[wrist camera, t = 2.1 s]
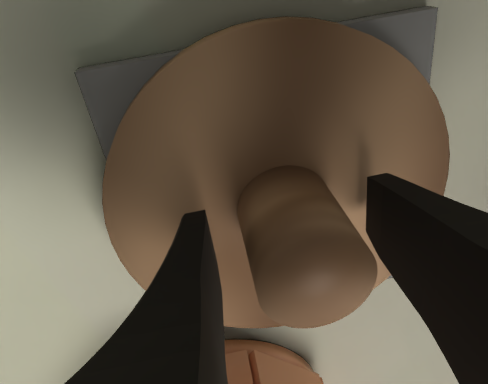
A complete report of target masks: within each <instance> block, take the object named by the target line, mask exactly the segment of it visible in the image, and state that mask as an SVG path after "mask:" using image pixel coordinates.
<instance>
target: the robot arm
mask: <svg viewBox="0 0 488 384" xmlns="http://www.w3.org/2000/svg"><path fill="white" fill-rule="evenodd" d="M366 233H367V235H368V237H369V239H370V241H371V243H372V245H373V247H374V249H375V251H376V252H377V254H378V256H379V258H380V259H381V261H382V262H383V264H384V265H385V267H386V268H387V270H388V271H389V272H390V274H391V275H392V277H393V278H394V279H395V281H396V282H397V284H398V285H399V286H400V288H401V289H402V291H403V292H404V293H405V295H406V296H407V298H408V299H409V300H410V302H411V303H412V305H413V306H414V307H415V309H416V310H417V312H418V313H419V314H420V316H421V317H422V319H423V320H424V322H425V324H426V325H427V327H428V328H429V330H430V332H431V333H432V335H433V337H434V339H435V340H436V342H437V344H438V346H439V347H440V349H441V351H442V353H443V354H444V356H445V358H446V360H447V362H448V364H449V365H450V367H451V369H452V371H453V373H454V375H455V377H456V379H457V380H458V382H459V384H488V213H486V212H484V211H481V210H478V209H475V208H473V207H470V206H467V205H464V204H462V203H459V202H457V201H454V200H452V199H449V198H447V197H444V196H442V195H440V194H437V193H435V192H432V191H430V190H428V189H425V188H423V187H421V186H419V185H416V184H414V183H412V182H409V181H407V180H404V179H402V178H400V177H397V176H394V175H392V174H389V173H383V174H378V175H373V176H369V177H367V200H366ZM64 384H228V380H227V372H226V361H225V341H224V320H223V299H222V288H221V282H220V275H219V269H218V263H217V259H216V254H215V250H214V246H213V241H212V237H211V233H210V228H209V224H208V220H207V216H206V211H205V210H200V211H195V212H190V213H185V214H184V215H183V217H182V218H181V222H180V224H179V227H178V230H177V232H176V235H175V237H174V240H173V242H172V244H171V246H170V248H169V250H168V252H167V255H166V257H165V259H164V261H163V263H162V264H161V266H160V268H159V270H158V272H157V273H156V275H155V277H154V279H153V280H152V282H151V284H150V285H149V287H148V289H147V290H146V292H145V293H144V295H143V296H142V298H141V299H140V301H139V302H138V303H137V305H136V306H135V308H134V309H133V310H132V312H131V313H130V314H129V316H128V317H127V318H126V319H125V321H124V322H123V323H122V324H121V326H120V327H119V328H118V329H117V331H116V332H115V333H114V334H113V335H112V337H111V338H110V339H109V340H108V341H107V342H106V343H105V344H104V345H103V346H102V347H101V349H100V350H99V351H98V352H97V353H96V354H95V355H94V356H93V357H92V358H91V359H90V360H89V361H88V362H87V363H86V364H85V365H84V366H83V367H82V368H81V369H80V370H79V371H78V372H77V373H76V374H74V375H73V376H72V377H71V378H70V379H69V380H68V381H67V382H66V383H64Z"/></svg>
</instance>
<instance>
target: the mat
mask: <svg viewBox="0 0 488 384" xmlns="http://www.w3.org/2000/svg"><path fill="white" fill-rule="evenodd" d="M437 11H438V8H437V7H431V6H425V7H419V8H414V9H408V10H403V11H397V12H391V13H386V14H380V15H374V16H369V17H363V18H358V19H352V20H346V21H341V22H337V23H339V24H342V25H345V26H347V27H350V28H353V29H356V30H358V31H361V32H364V33H366V34H369V35H372V36H374V37H375V38H377V39H379V40H381V41H382V42H384V43H386V44H388V45H390V46H391V47H393V48H394V49H395V50H397V51H398V52H399V53H400V54H402V55H403V56H404V57H405V58H407V59H408V60H409V61H410V62H411V63H412V64H413V65H414V66H415V67H416V68H417V70H418V71H419V72H420V73H421V74H422V75H423V76H424V78H425V79H426V80H427V82H428V84H429V85H430V76H431V66H432V57H433V48H434V39H435V29H436V20H437ZM181 51H182V50H177V51H172V52H166V53H161V54H155V55H149V56H144V57H138V58H132V59H127V60H121V61H116V62H110V63H104V64H99V65H93V66H87V67H82V68H78V69H77V70H76V71H75V72H74V73H75V75H76V78H77V81H78V84H79V86H80V89H81V92H82V95H83V97H84V100H85V103H86V106H87V108H88V111H89V114H90V117H91V120H92V122H93V125H94V128H95V131H96V133H97V136H98V139H99V142H100V144H101V147H102V150H103V153H104V155H105V158H106V161H107V157H108V154H109V151H110V148H111V145H112V143H113V140H114V137H115V134H116V131H117V128H118V126H119V124H120V122H121V120H122V118H123V116H124V114H125V112H126V110H127V108H128V107H129V105H130V103H131V102H132V101H133V99H134V98H135V97H136V95H137V94H138V92H139V91H140V90H141V88H142V87H143V85H144V84H145V83H146V82H147V81H148V80H149V79H150V78H151V77H152V76H153V75H154V74H155V73H156V72H157V71H158V70H159V69H160V68H161V67H162V66H163V65H164V64H166V63H167V62H168V61H169V60H171V59H172V58H173V57H175V56H176V55H177V54H178V53H179V52H181ZM388 278H393V277H392V275H390V276H389V277H388ZM388 278H387V279H388Z"/></svg>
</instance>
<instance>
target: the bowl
mask: <svg viewBox="0 0 488 384" xmlns="http://www.w3.org/2000/svg"><path fill="white" fill-rule="evenodd" d="M224 341H225V361H226V372H227V380H228V384H323V381H322V378H321V377H319V374H317V373H314V372H313V370H312V368H311V367H310V366H309V364H308V363H307V362H306V361H305V360H304V359H303V358H302V357H300V356H299V355H297V354H296V353H294V352H293V351H290V350H288V349H286V348H284V347H281V346H278V345H275V344H272V343H267V342H262V341H255V340H235V339H231V340H224Z"/></svg>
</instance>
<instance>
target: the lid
mask: <svg viewBox="0 0 488 384" xmlns="http://www.w3.org/2000/svg"><path fill="white" fill-rule="evenodd" d="M449 158H450V152H449V136H448V131H447V127H446V122H445V118H444V114H443V112H442V109H441V107H440V104H439V102H438V99H437V97H436V95H435V93H434V92H433V90H432V89H431V87H430V85H429V84H428V82H427V80H426V79H425V78H424V76H423V75H422V74H421V73H420V72H419V71H418V70H417V68H416V67H415V66H414V65H413V64H412V63H411V62H410V61H409V60H408V59H407V58H405V57H404V56H403V55H402V54H400V53H399V52H398V51H397V50H395V49H394V48H393V47H391V46H390V45H388V44H386V43H384V42H382V41H381V40H379V39H377V38H375V37H374V36H372V35H369V34H366V33H364V32H361V31H358V30H356V29H353V28H350V27H347V26H345V25H342V24H339V23H337V22H331V21H326V20H321V19H316V18H309V17H287V16H285V17H275V18H265V19H257V20H253V21H249V22H245V23H241V24H237V25H233V26H230V27H228V28H225V29H223V30H220V31H218V32H216V33H213V34H211V35H208V36H206V37H204V38H202V39H201V40H199V41H197V42H196V43H194V44H192V45H190V46H189V47H187V48H185V49H183V50H182V51H181V52H179V53H178V54H177V55H176V56H175V57H173V58H172V59H171V60H169V61H168V62H167V63H166V64H164V65H163V66H162V67H161V68H160V69H159V70H158V71H157V72H156V73H155V74H154V75H153V76H152V77H151V78H150V79H149V80H148V81H147V82H146V83H145V84H144V85H143V87H142V88H141V90H140V91H139V92H138V94H137V95H136V97H135V98H134V99H133V101H132V102H131V103H130V105H129V107H128V108H127V110H126V112H125V114H124V116H123V118H122V120H121V122H120V124H119V126H118V128H117V131H116V134H115V137H114V140H113V143H112V145H111V148H110V151H109V154H108V157H107V161H106V166H105V172H104V178H103V197H102V204H103V211H104V218H105V224H106V227H107V231H108V234H109V237H110V240H111V243H112V245H113V247H114V249H115V251H116V253H117V255H118V257H119V259H120V261H121V262H122V264H123V265H124V267H125V268H126V269H127V271H128V272H129V274H130V275H131V276H132V277H133V278H134V279H135V280H136V281H137V282H138V284H139V285H140V286H141V287H142V288H143V289H144V290H147V289H148V287H149V285H150V284H151V282H152V280H153V279H154V277H155V275H156V273H157V272H158V270H159V268H160V266H161V264H162V263H163V261H164V259H165V257H166V255H167V252H168V250H169V248H170V246H171V244H172V242H173V240H174V237H175V235H176V232H177V230H178V227H179V224H180V222H181V218H182V217H183V215H184V214H185V213H190V212H195V211H200V210H205V211H206V216H207V220H208V224H209V228H210V233H211V237H212V241H213V246H214V250H215V254H216V259H217V263H218V269H219V275H220V282H221V288H222V299H223V320H224V326H228V327H237V328H268V327H279V326H288V327H293V328H314V327H319V326H324V325H327V324H330V323H333V322H335V321H338V320H340V319H342V318H344V317H345V316H347V315H349V314H350V313H352V312H353V311H354V310H356V309H357V308H358V307H359V306H360V305H361V304H362V303H363V302H364V301H365V300H366V299H367V297H368V296H369V295H370V293H371V291H372V290H373V289H374V288H375V287H377V286H378V285H380V284H381V283H382V282H383V281H384V280H386V279H387V278H388V277H389V276H390V275H391V274H390V272H389V271H388V270H387V268H386V267H385V265H384V264H383V262H382V261H381V259H380V258H379V256H378V254H377V252H376V251H375V249H374V247H373V245H372V243H371V241H370V239H369V237H368V235H367V233H366V200H367V177H369V176H373V175H378V174H383V173H389V174H392V175H394V176H397V177H400V178H402V179H404V180H407V181H409V182H412V183H414V184H416V185H419V186H421V187H423V188H425V189H428V190H430V191H432V192H435V193H437V194H440V195H442V196H443V195H444V191H445V186H446V182H447V177H448V170H449Z"/></svg>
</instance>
